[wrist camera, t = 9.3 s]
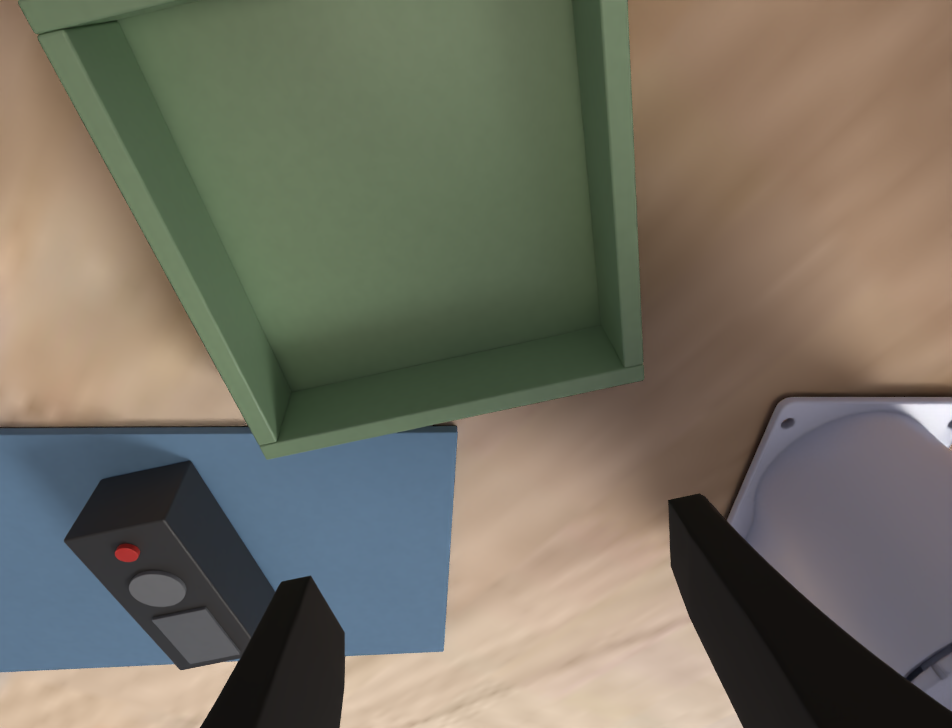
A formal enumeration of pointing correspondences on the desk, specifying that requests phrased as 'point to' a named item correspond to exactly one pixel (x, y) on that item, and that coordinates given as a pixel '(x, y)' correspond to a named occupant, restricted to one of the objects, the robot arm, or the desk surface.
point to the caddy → (374, 196)
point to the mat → (255, 520)
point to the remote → (173, 563)
